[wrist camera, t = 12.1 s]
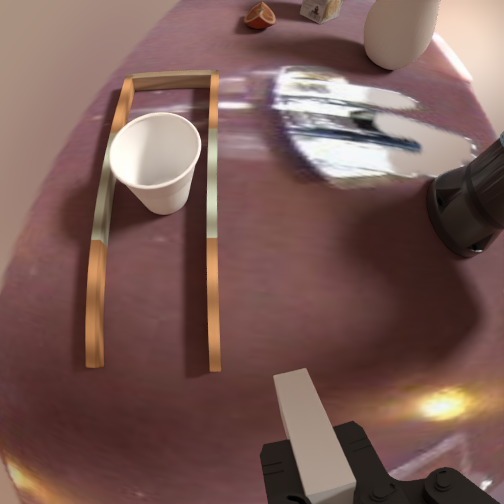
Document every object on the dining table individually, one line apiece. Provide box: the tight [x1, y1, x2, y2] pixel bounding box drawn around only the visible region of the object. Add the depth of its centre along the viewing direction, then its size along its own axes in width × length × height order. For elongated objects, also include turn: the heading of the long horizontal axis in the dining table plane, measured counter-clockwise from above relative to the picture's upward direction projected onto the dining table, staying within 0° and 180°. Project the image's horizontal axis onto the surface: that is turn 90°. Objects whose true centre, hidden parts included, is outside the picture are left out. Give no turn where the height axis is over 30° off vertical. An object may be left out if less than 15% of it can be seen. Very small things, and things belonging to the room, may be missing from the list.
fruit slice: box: [244, 2, 276, 29], centre depth 53 cm, size 8×7×5 cm
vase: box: [364, 0, 441, 70], centre depth 42 cm, size 14×14×30 cm
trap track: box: [86, 70, 221, 372], centre depth 39 cm, size 44×15×3 cm, turn 3°
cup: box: [108, 112, 201, 215], centre depth 35 cm, size 10×10×11 cm
